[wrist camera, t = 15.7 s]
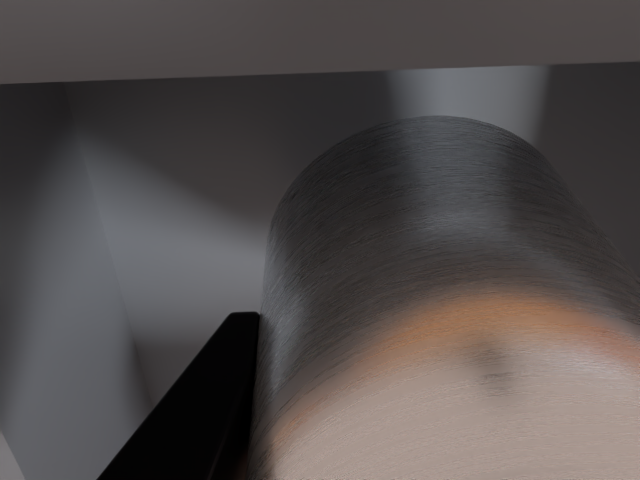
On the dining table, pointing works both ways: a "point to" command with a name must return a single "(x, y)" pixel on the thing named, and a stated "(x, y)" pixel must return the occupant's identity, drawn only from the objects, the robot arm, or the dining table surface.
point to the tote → (241, 168)
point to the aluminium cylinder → (443, 318)
